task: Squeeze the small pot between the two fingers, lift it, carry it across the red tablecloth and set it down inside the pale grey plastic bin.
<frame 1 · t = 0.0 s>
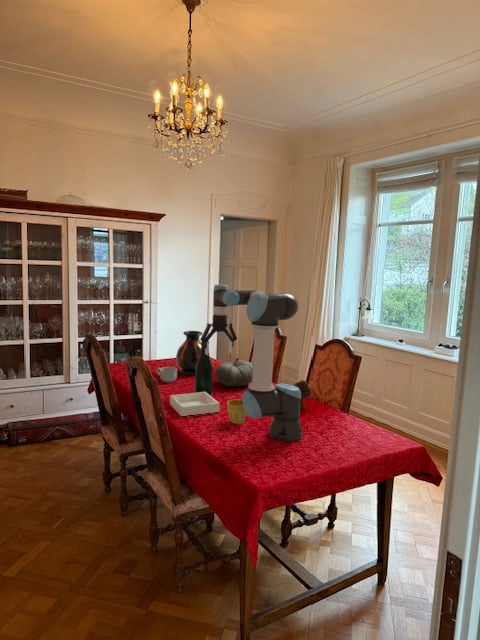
hand: (218, 353, 236), 28 cm above the table, fingers open, 13 cm apart
ice cream bowl: (300, 406, 242), on the table
teacup: (166, 381, 280), on the table
beer bottle: (203, 395, 255), on the table
plant pot: (237, 422, 215), on the table
amphora vase: (191, 372, 302), on the table
bin: (194, 408, 232), on the table
gourd: (234, 384, 278), on the table
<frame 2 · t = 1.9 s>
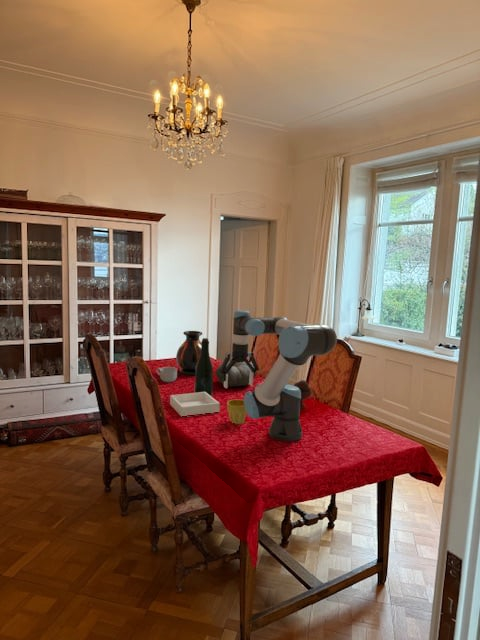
hand: (238, 386, 213), 18 cm above the table, fingers open, 13 cm apart
nothing on the table moved.
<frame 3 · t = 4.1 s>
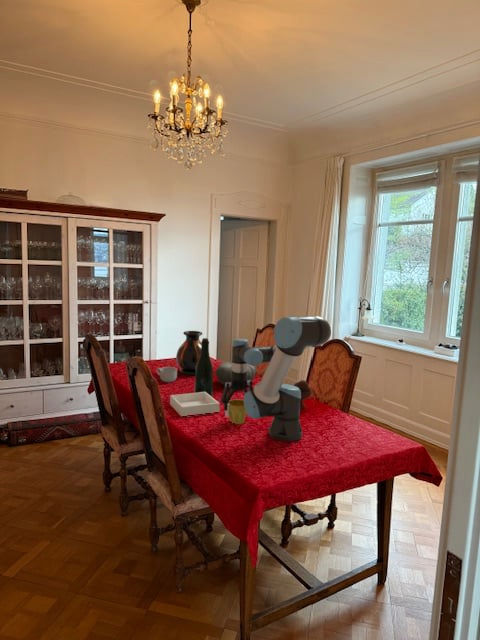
hand: (237, 415, 215), 3 cm above the table, fingers closed on plant pot, 10 cm apart
plant pot: (237, 422, 215), on the table, touching gripper
everything else where it was.
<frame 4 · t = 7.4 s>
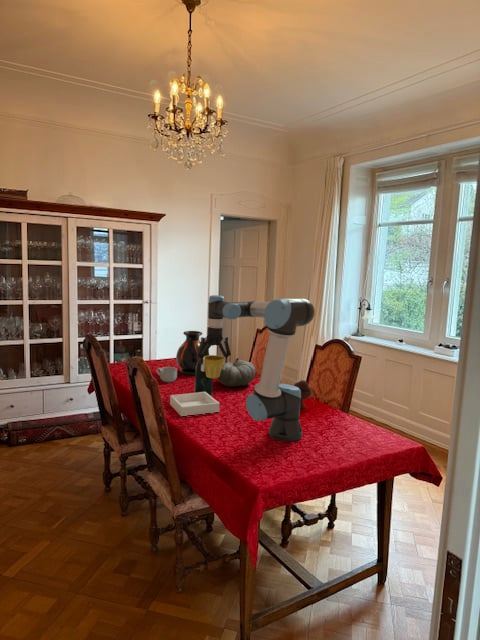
hand: (212, 370, 222), 23 cm above the table, fingers closed on plant pot, 10 cm apart
plant pot: (212, 376, 222), point 19 cm above the table, touching gripper
everything else where it was.
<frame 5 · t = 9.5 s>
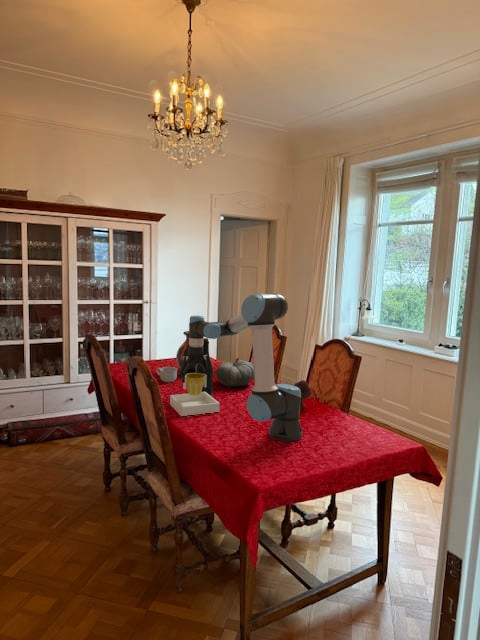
hand: (194, 387, 230), 11 cm above the table, fingers closed on plant pot, 10 cm apart
plant pot: (194, 393, 231), point 8 cm above the table, touching gripper
everything else where it was.
when the fingers open (6 cm above the table, at t = 11.2 s): plant pot drops 1 cm, resting on bin.
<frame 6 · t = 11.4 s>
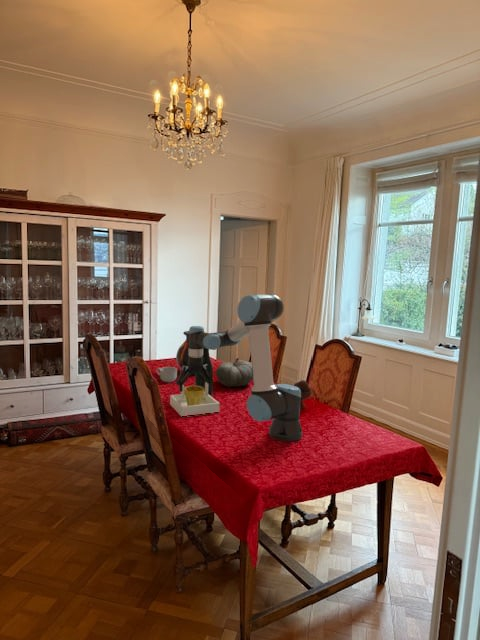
hand: (194, 396, 231), 7 cm above the table, fingers open, 13 cm apart
plant pot: (193, 406, 231), point 1 cm above the table, touching bin
everything else where it was.
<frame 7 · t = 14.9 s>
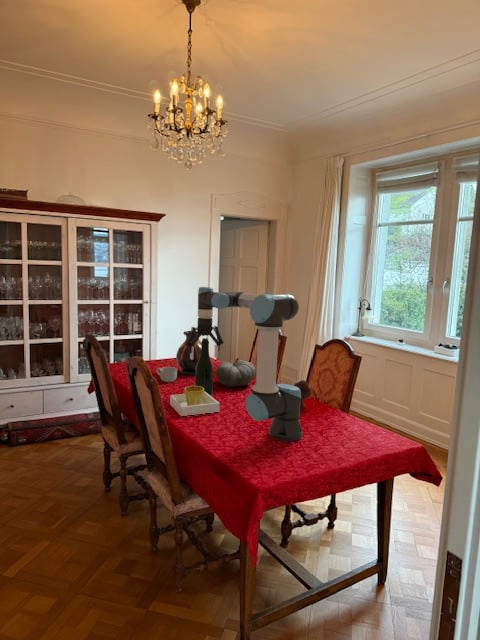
hand: (204, 358, 228), 27 cm above the table, fingers open, 13 cm apart
nothing on the table moved.
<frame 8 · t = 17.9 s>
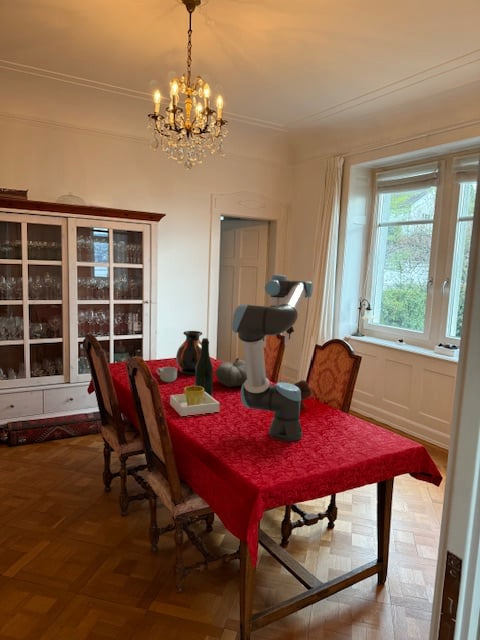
hand: (275, 346, 228), 35 cm above the table, fingers open, 13 cm apart
nothing on the table moved.
at the end: plant pot inside the target area on the bin (0.3 cm from its centre), point 0.8 cm above the bin's base; plant pot tilted 0°; the gripper is holding nothing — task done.
